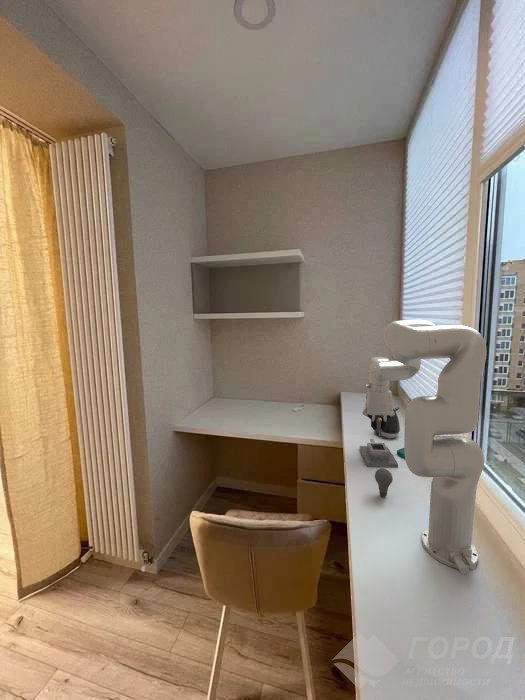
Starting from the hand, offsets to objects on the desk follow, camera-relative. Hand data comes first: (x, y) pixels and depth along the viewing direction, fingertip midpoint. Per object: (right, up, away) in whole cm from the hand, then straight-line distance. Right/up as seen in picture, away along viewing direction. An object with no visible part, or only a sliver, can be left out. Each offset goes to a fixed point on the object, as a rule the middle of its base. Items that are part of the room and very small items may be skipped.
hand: (378, 428), depth 118 cm
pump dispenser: (+14, -10, +21) cm, 27 cm away
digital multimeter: (+18, -13, +4) cm, 22 cm away
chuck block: (+1, -13, +3) cm, 13 cm away
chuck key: (0, -3, 0) cm, 3 cm away
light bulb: (-7, -17, -22) cm, 29 cm away
